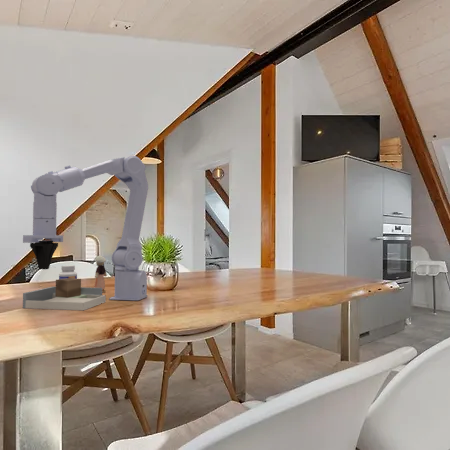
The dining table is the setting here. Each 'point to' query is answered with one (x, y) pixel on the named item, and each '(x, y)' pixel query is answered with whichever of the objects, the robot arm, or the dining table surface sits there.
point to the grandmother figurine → (100, 273)
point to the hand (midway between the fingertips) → (43, 269)
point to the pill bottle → (68, 272)
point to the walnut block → (68, 287)
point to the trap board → (63, 299)
